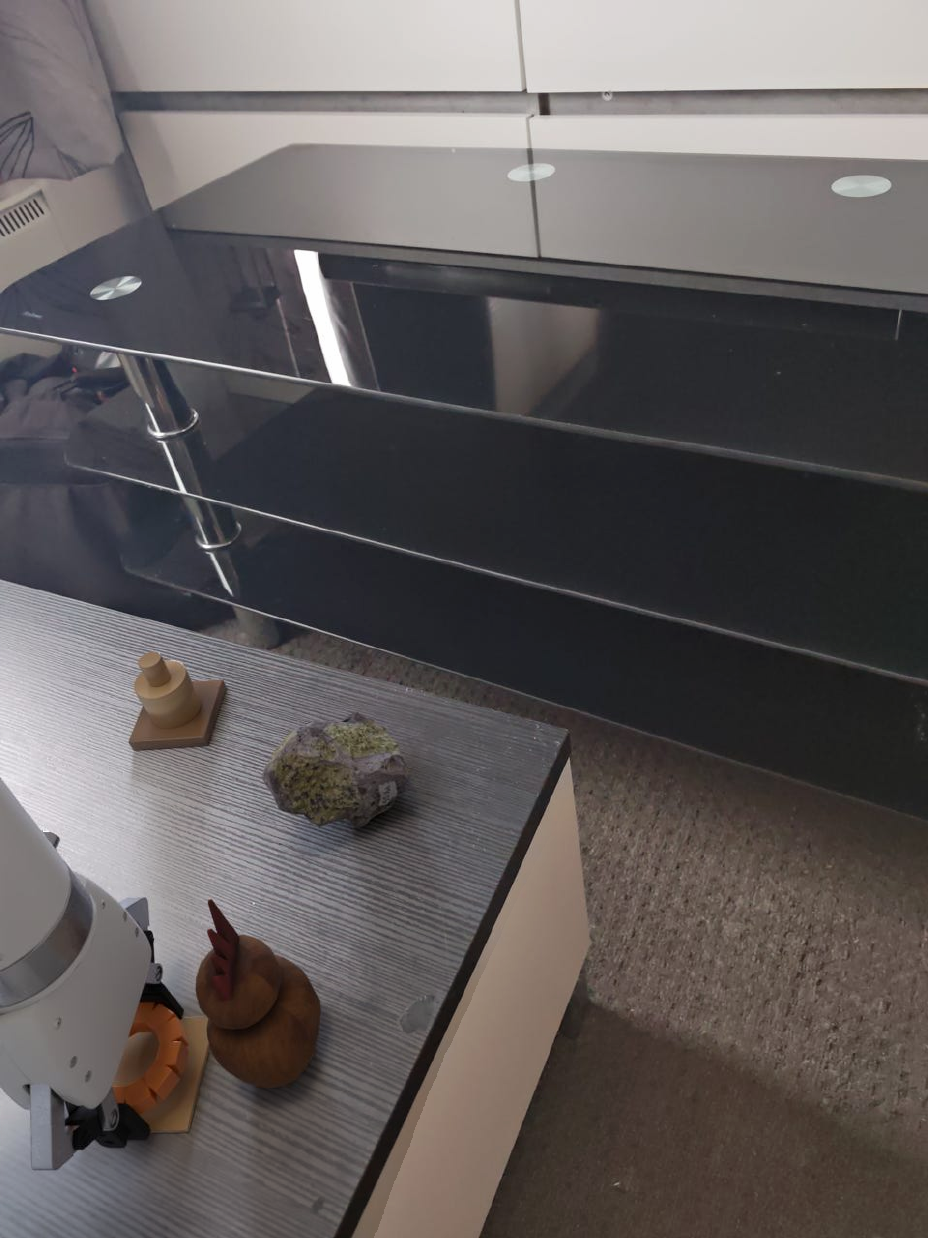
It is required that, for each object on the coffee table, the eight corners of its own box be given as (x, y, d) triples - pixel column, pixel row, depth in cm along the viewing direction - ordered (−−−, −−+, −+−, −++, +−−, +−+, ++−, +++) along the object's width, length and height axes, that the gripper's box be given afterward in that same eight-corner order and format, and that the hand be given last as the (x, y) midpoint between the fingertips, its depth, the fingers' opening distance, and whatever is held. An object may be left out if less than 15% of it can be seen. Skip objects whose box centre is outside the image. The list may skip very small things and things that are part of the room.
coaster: (189, 1132, 56) (187, 1130, 56) (83, 1133, 57) (80, 1130, 57) (217, 1018, 61) (215, 1016, 61) (119, 1021, 62) (116, 1018, 62)
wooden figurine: (267, 990, 62) (189, 868, 52) (344, 1008, 60) (279, 886, 50) (221, 1092, 58) (126, 980, 48) (302, 1116, 56) (221, 1004, 46)
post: (208, 746, 80) (176, 686, 75) (133, 750, 81) (96, 692, 76) (227, 687, 85) (199, 627, 80) (156, 692, 86) (124, 634, 81)
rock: (373, 886, 67) (340, 805, 60) (269, 845, 71) (227, 765, 64) (441, 775, 73) (418, 691, 67) (342, 744, 78) (311, 661, 71)
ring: (68, 1120, 55) (58, 1111, 55) (105, 1012, 60) (96, 1002, 59) (171, 1119, 55) (162, 1110, 54) (200, 1010, 59) (192, 1000, 59)
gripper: (15, 795, 54) (133, 948, 65) (-145, 1110, 41) (37, 1231, 53) (135, 788, 53) (233, 945, 64) (10, 1109, 40) (160, 1232, 52)
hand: (144, 1072), depth 58 cm, fingers closed on ring, 6 cm apart
